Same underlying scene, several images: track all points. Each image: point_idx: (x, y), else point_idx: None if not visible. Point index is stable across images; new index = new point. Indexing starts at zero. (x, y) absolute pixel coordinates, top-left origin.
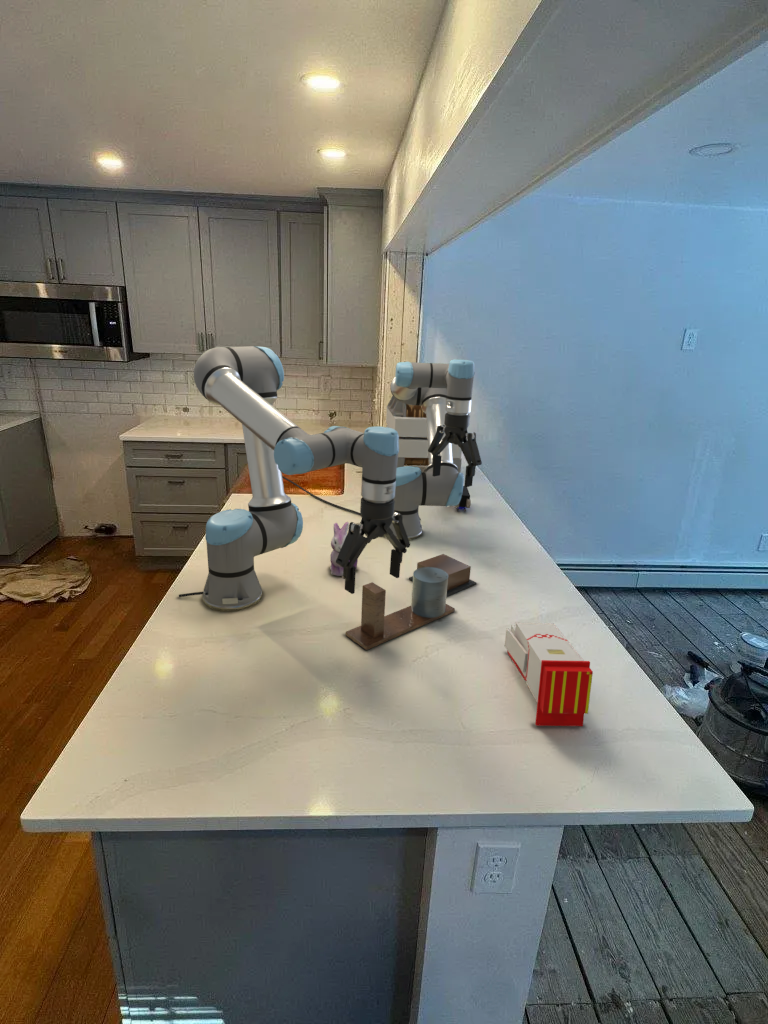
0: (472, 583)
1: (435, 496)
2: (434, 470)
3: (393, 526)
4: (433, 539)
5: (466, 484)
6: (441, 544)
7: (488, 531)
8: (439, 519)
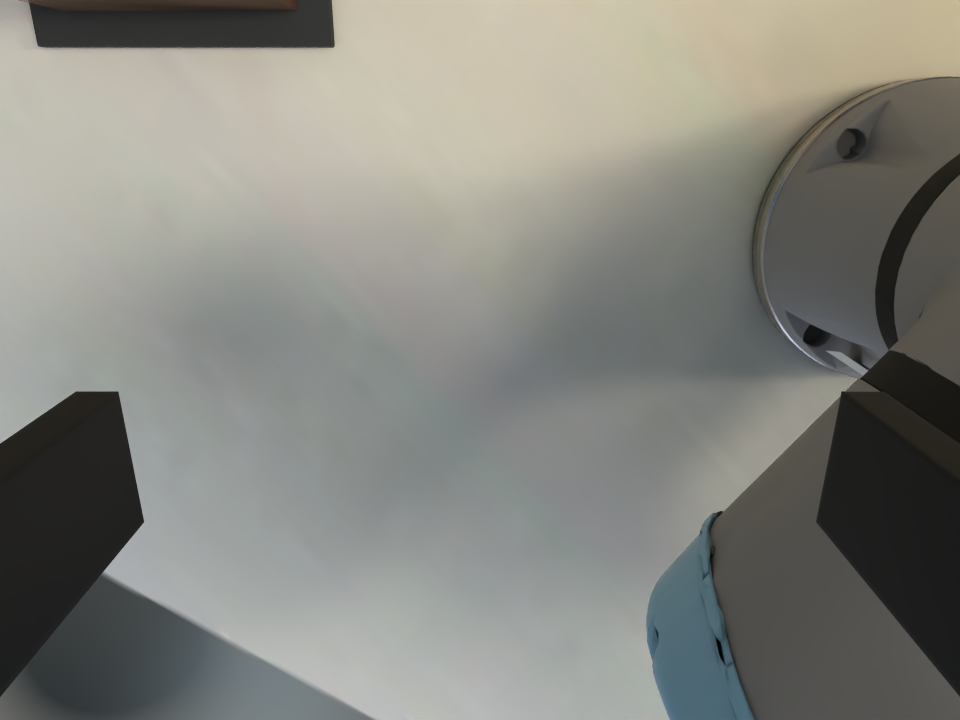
0: (37, 12)
1: (807, 458)
2: (911, 442)
3: (921, 109)
4: (671, 327)
5: (46, 414)
6: (587, 311)
7: (546, 644)
8: None
